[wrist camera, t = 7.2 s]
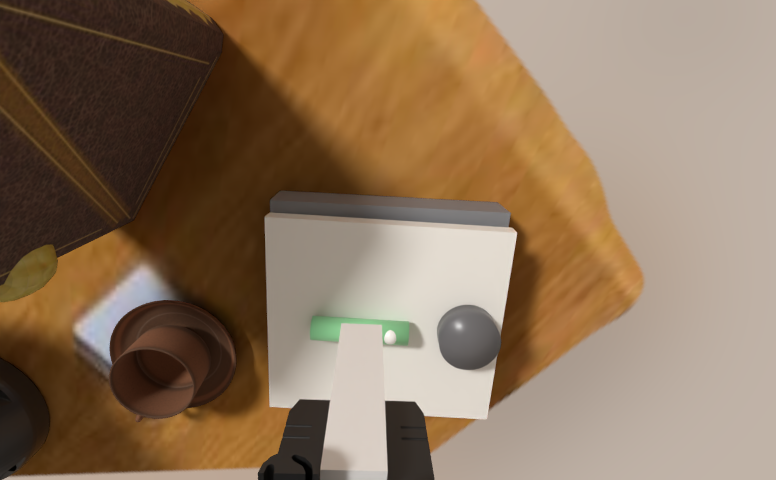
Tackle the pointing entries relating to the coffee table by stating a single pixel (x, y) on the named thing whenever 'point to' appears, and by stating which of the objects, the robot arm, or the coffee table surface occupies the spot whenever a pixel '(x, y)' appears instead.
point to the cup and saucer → (169, 359)
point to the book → (88, 119)
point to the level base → (391, 208)
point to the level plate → (387, 306)
